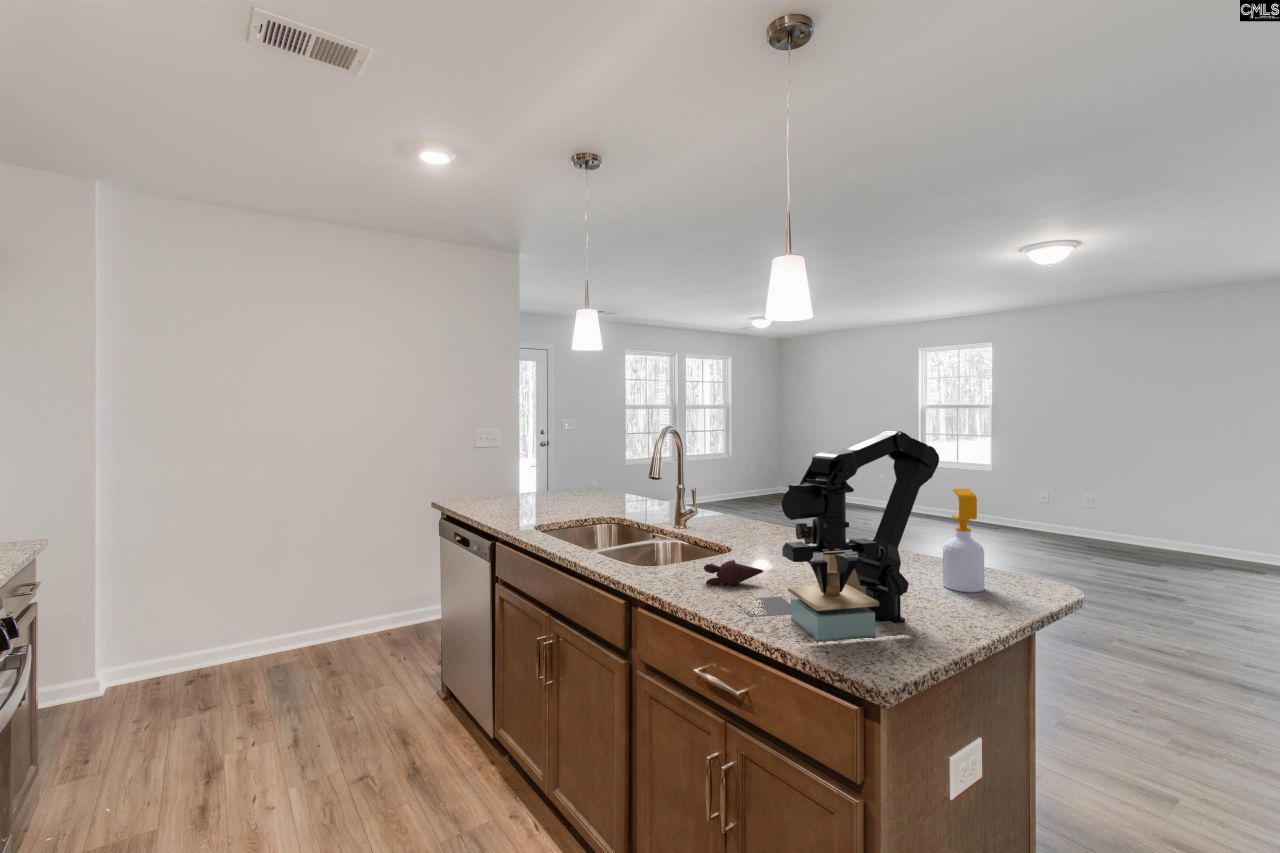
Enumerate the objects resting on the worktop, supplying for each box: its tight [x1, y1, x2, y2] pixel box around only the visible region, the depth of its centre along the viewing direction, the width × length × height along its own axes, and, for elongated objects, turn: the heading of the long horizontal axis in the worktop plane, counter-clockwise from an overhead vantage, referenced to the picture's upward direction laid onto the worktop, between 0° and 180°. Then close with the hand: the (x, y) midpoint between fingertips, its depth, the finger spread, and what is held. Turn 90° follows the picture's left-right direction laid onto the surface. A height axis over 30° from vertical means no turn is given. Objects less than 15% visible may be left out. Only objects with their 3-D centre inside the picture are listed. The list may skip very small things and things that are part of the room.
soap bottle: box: [942, 488, 985, 594], centre depth 148 cm, size 9×9×25 cm
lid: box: [787, 571, 879, 611], centre depth 121 cm, size 13×13×5 cm
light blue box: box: [790, 597, 876, 641], centre depth 121 cm, size 12×12×5 cm
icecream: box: [703, 559, 764, 587], centre depth 152 cm, size 7×7×15 cm
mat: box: [737, 596, 791, 618], centre depth 134 cm, size 12×12×1 cm
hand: (831, 592), depth 121 cm, fingers closed on lid, 3 cm apart
